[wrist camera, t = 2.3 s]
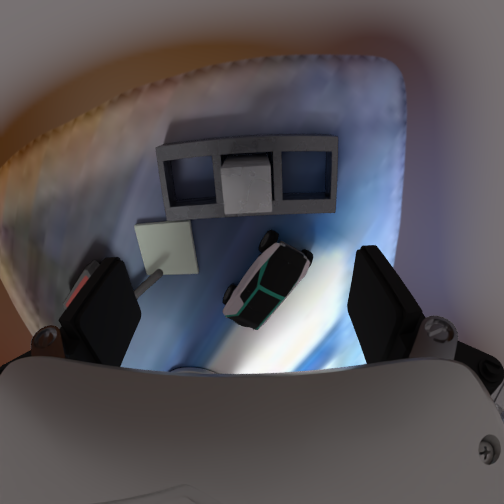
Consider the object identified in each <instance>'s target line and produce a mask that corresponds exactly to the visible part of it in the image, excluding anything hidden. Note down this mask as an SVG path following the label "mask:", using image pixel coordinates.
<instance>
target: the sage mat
mask: <svg viewBox="0 0 504 504" xmlns="http://www.w3.org/2000/svg"><path fill="white" fill-rule="evenodd" d="M134 227H135V231H136V235H137V239H138V243H139V247H140V251H141V255H142V258H143V262H144V266H145V269H146V273H147V275H152V274H153V273H154V272H155V271H156V270H157V269H161V270H162V271H163V275H171V274H198V273H199V268H198V263H197V257H196V252H195V246H194V240H193V234H192V228H191V221H190V220H178V221H165V222H153V223H142V224H136V225H135V226H134Z"/></svg>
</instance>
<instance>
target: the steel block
mask: <svg viewBox="0 0 504 504" xmlns="http://www.w3.org/2000/svg"><path fill="white" fill-rule="evenodd" d="M220 169H221V180H222V190H223V200H224V211H225V214H240V213H259V212H272V193H271V166H270V162H269V159H268V156H267V153H257V154H239V155H228V157H227V158H226V160H225V162H224V163H223V165H222V167H221V168H220Z"/></svg>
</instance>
